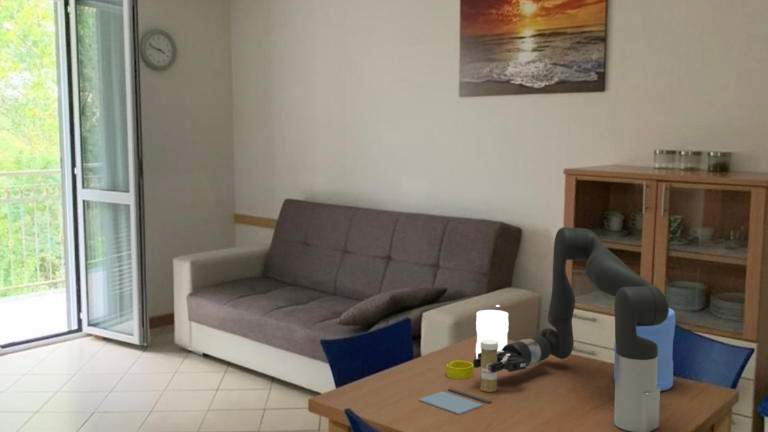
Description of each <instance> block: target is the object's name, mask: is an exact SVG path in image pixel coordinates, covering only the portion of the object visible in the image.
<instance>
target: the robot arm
mask: <svg viewBox="0 0 768 432" xmlns="http://www.w3.org/2000/svg"><path fill="white" fill-rule="evenodd" d="M552 255H553V258H552V259H553V260H552V281H551V282H552V283H551V285H552V286H551V297H550V303H549V308H548V314H547V322H548V323H549V324H550V325H551V326H552V327H553V328H554V329H553V328H549V327H547V328H543V329H541V330H540V331H539V332H538V333H536V335H535V336H533V337H529V338H527V339H526V338H525V339H524V338H523V339H519V340H517V341H514V342H510V343H507V345H505V346H504V347H503V349H502V350H501V351H498V352H497V363H494V364H491V366H490V372H492V373H494V372H497V373H498V372H500V371H502V372H505V371H507V372H508V373H512V372H517V371H521V370H526V368H527V367H531V366H532V365H535V364H536V363H539V362H542V361H545V360H546V359H548V358H549V357H550V355H551V356H553V357H556V358H557V359H560V360H565V359H567V358H568V357H570V355H571V354H572V352H573V350H574V344H575V343H574V341H575V340H574V332H573V316H574V313H575V306H576V297H575V292H574V290H573V287H572V285H571V283H570V280H569V277H568V275H567V269H566V267H567V266H566V265H567V261H583V262H586V263H585V274H586V277H587V278H588V279H589V280H590V282H591V283H592V284H593V285H594V287H596V288H598V289H599V290H600V292H603V293H605V294H607V295H610V296H613V297H614V338H615V339H614V341H615V340H616V375H615V381H614V384H615V385H614V413H613V415H614V416H613V418H614V421H613V423H614V426H616V427H617V428H619V429H620V430H621V429H622V430H623V431H628V432H652V431H654V430H656V429H659V428H660V406H661V405H660V404H661V403H660V402H661V400H660V398H661V391H660V388H659V387H657V359H658V346H657V344H656V343H655V342H653V341H651V340H648V339H645V338H642V337H639V336H638V335H637V332H636V326H655V325H659V324H661V323H663V322H664V321H665V320H666V319H667V317H668V313H669V308H670V307H669V303H668V300H667V297H666V295H665V294H664V293H663V291H662V290H661V289H660V288H659V287H657V285H655V284H653V283H651V282H650V281H648V280H647V279H645V278H643V277H642V276H640V275H639V274H637V273H636V272H635V271H633V269H631V268H630V267H629V266H628V265H626V263H625V262H623V260H622V259H620V258H619V257H618V256H617V255H616V254H614V253H613V252H612V251H611V250H610V249H609V248H607V247H606V245H605V244H603V242H602V241H601V239H600V238H599V237H598V236H597V234H596V233H595V232H594V231H593V230H592V229H588V228H582V227H568V226H567V227H561V228H559V229H558V230H557V232H556V234H555V236H554V243H553V254H552ZM472 364H473V368H475V369H477V368H481V353H479V354H478V359H476V358H475V359H473V363H472Z"/></svg>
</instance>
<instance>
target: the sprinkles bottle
mask: <svg viewBox="0 0 768 432" xmlns="http://www.w3.org/2000/svg"><path fill="white" fill-rule="evenodd" d="M497 349H498V342H497V341H495V340H482V341H481V367H480V388H479V389H480V390H481V391H483V392H486V393H489V392H490V393H494V392H496V391H497V390H498V386H497V385H498V384H497V382H498V381H497V380H498V371H497V372H494V373H492V372H490V366H491V364H494V363H497Z"/></svg>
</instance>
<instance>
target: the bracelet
mask: <svg viewBox="0 0 768 432" xmlns="http://www.w3.org/2000/svg"><path fill="white" fill-rule="evenodd" d="M446 377H448V378H450V379H454V380H465V379H469V378H472V377H474V367H473V363H472V362H471V361H467V360H453V361H451V362H450V364H449V363H447V364H446Z"/></svg>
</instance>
